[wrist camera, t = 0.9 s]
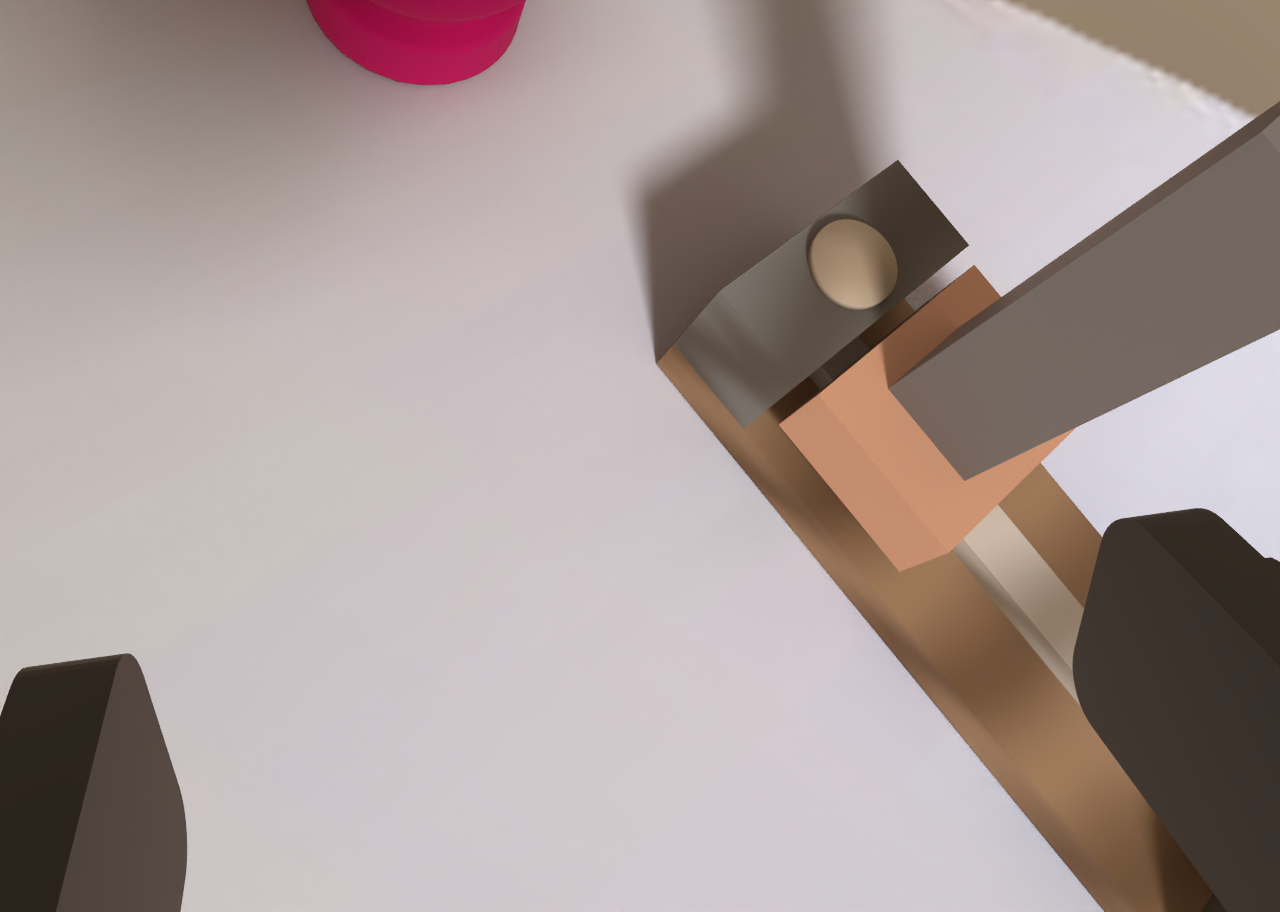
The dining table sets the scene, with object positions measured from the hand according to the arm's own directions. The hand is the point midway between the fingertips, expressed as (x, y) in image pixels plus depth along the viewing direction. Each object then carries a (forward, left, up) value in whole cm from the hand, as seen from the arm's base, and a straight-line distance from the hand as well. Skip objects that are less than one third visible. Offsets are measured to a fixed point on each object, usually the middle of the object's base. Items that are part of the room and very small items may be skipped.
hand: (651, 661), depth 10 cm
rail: (+8, +16, -20) cm, 27 cm away
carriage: (+2, +16, -17) cm, 24 cm away
